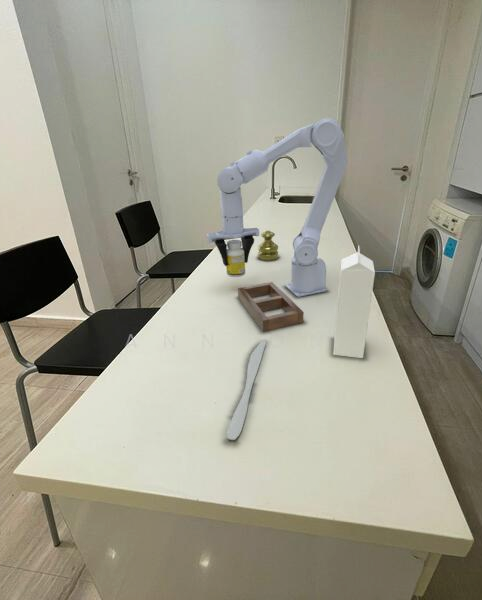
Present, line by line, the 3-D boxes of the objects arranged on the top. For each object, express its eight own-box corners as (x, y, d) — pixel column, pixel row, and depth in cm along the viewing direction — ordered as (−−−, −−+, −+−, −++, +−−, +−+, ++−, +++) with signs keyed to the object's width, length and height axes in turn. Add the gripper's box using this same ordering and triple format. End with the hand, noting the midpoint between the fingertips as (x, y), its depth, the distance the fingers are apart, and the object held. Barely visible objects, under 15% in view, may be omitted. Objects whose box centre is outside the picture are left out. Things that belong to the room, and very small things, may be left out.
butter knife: (219, 436, 50) (238, 438, 50) (256, 339, 74) (269, 340, 73) (219, 439, 50) (238, 441, 50) (256, 342, 74) (269, 342, 73)
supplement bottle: (226, 271, 98) (224, 239, 94) (244, 270, 99) (243, 238, 94) (226, 278, 94) (224, 245, 89) (246, 277, 94) (244, 244, 90)
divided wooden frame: (272, 291, 97) (272, 281, 95) (303, 322, 80) (303, 311, 79) (238, 297, 94) (237, 288, 92) (263, 331, 77) (262, 320, 76)
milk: (333, 355, 68) (341, 254, 58) (334, 339, 74) (341, 243, 64) (363, 358, 67) (377, 255, 57) (362, 342, 72) (374, 244, 62)
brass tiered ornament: (281, 256, 124) (281, 229, 119) (271, 262, 118) (271, 235, 114) (264, 253, 127) (264, 227, 123) (254, 259, 122) (253, 232, 117)
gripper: (209, 221, 83) (214, 272, 89) (262, 215, 87) (263, 263, 93) (203, 216, 89) (208, 263, 95) (253, 210, 93) (255, 256, 99)
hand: (235, 263), depth 95 cm, fingers closed on supplement bottle, 5 cm apart
